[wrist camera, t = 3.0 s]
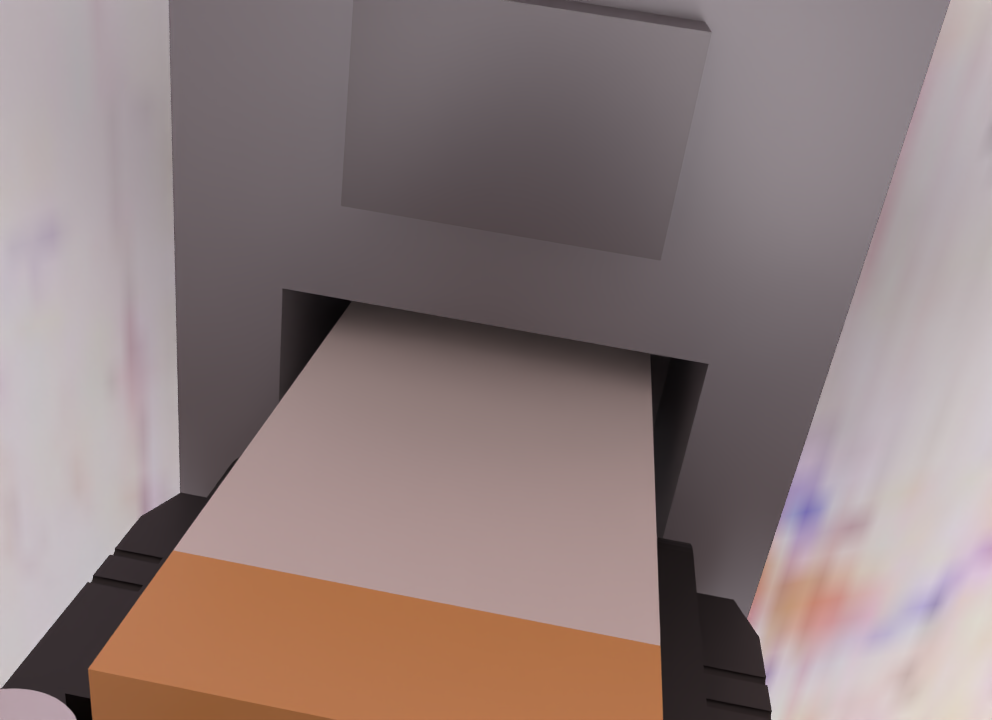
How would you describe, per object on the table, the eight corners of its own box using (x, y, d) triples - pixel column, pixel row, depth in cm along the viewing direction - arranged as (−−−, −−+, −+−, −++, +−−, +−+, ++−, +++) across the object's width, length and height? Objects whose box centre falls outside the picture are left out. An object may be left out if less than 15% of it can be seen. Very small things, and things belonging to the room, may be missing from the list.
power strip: (567, 988, 21) (549, 1261, 17) (267, 922, 22) (177, 1172, 17) (867, -75, 11) (1006, -65, 7) (306, -158, 12) (119, -194, 8)
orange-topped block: (591, 551, 15) (550, 1159, 8) (367, 508, 15) (120, 1060, 8) (648, 293, 13) (665, 787, 6) (389, 249, 13) (88, 668, 6)
